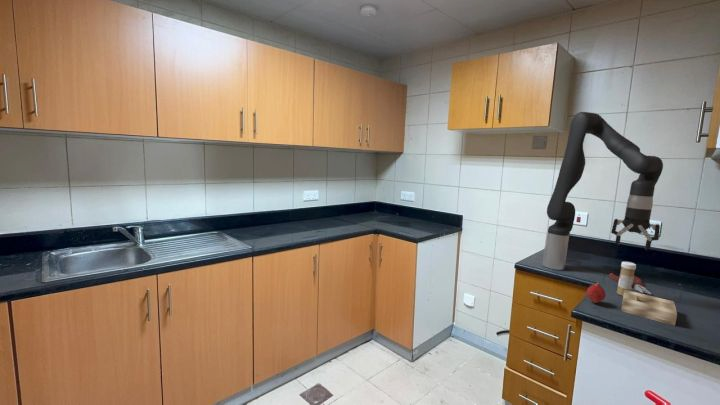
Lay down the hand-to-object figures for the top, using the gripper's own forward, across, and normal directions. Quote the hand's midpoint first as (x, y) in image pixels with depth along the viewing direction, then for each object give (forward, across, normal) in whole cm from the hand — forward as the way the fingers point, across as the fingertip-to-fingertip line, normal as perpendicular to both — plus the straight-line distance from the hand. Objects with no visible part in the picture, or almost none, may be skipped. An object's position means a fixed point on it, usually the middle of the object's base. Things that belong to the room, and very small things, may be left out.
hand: (631, 247), depth 128 cm
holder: (+20, +7, -13) cm, 25 cm away
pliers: (+21, +1, +17) cm, 27 cm away
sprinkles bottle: (+20, 0, 0) cm, 20 cm away
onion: (+20, -8, -19) cm, 29 cm away
